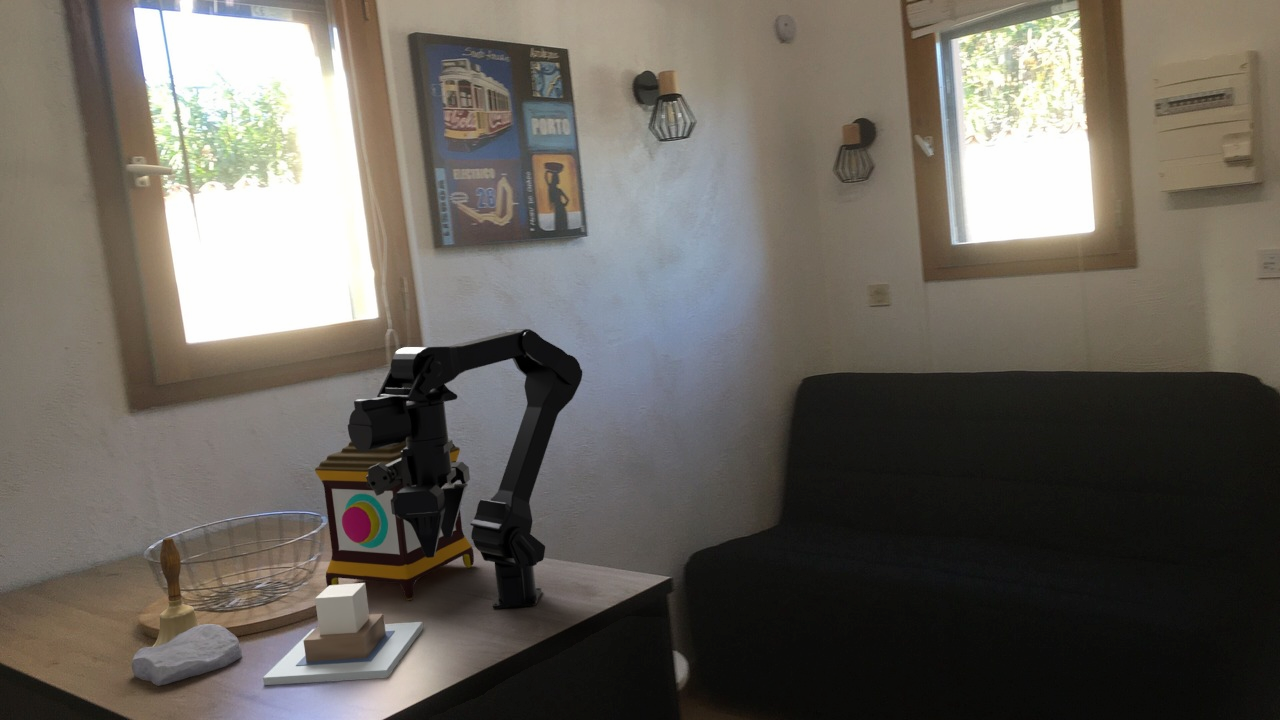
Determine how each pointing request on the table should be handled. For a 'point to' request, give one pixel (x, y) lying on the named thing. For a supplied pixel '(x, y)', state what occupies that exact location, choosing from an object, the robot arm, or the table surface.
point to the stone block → (187, 655)
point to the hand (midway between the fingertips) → (439, 546)
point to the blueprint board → (348, 668)
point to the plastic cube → (342, 608)
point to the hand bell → (173, 597)
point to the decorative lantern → (378, 525)
